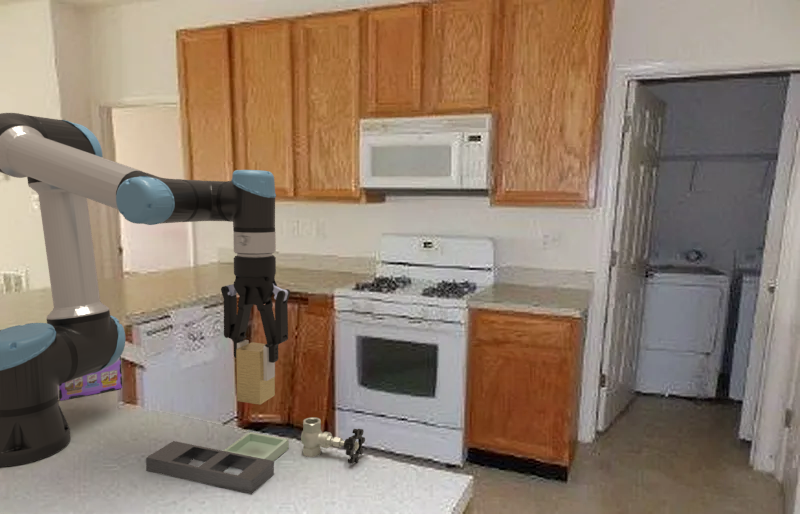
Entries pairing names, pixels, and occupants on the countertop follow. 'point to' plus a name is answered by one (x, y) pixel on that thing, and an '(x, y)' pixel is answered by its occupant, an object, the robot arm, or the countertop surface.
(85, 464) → the countertop surface
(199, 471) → the grey slotted holder
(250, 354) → the wooden block
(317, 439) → the valve
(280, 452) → the tray
